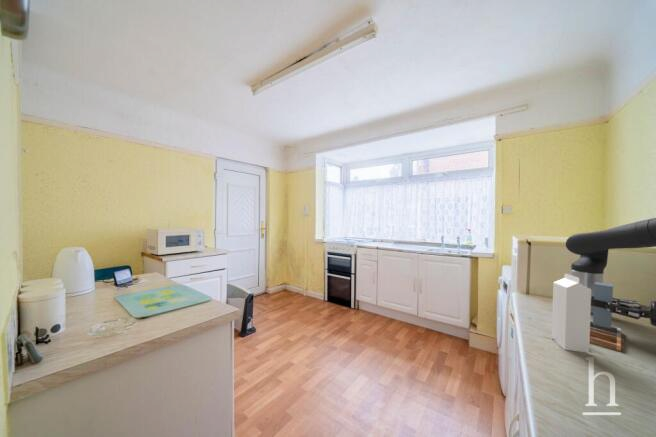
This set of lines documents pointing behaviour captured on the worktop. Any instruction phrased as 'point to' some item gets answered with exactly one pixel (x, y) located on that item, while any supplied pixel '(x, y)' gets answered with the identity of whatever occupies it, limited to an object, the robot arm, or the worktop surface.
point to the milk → (571, 314)
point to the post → (604, 294)
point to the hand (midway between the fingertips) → (590, 300)
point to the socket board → (607, 337)
